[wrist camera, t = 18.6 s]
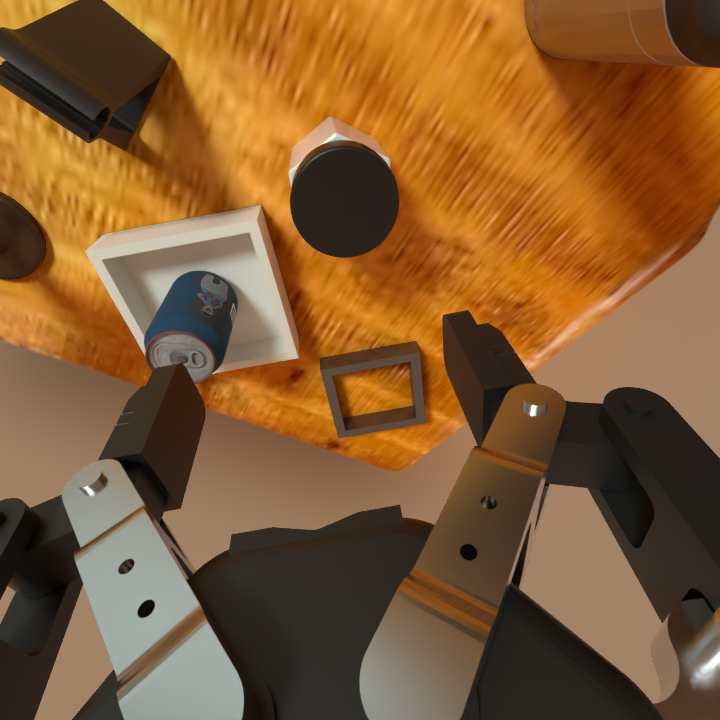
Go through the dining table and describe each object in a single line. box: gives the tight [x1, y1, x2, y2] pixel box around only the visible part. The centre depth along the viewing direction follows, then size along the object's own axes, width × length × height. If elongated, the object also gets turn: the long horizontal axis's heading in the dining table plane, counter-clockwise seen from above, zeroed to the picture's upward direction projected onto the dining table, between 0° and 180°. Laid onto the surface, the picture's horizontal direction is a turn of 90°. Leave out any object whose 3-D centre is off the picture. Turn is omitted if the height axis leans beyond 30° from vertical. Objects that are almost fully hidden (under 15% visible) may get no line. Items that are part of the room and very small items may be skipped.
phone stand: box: [0, 0, 171, 151], centre depth 30 cm, size 9×6×12 cm, turn 140°
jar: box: [288, 116, 399, 258], centre depth 36 cm, size 9×8×12 cm
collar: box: [320, 341, 426, 438], centre depth 57 cm, size 12×12×2 cm
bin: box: [85, 205, 299, 374], centre depth 45 cm, size 16×16×4 cm
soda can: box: [144, 271, 238, 384], centre depth 41 cm, size 7×7×12 cm
